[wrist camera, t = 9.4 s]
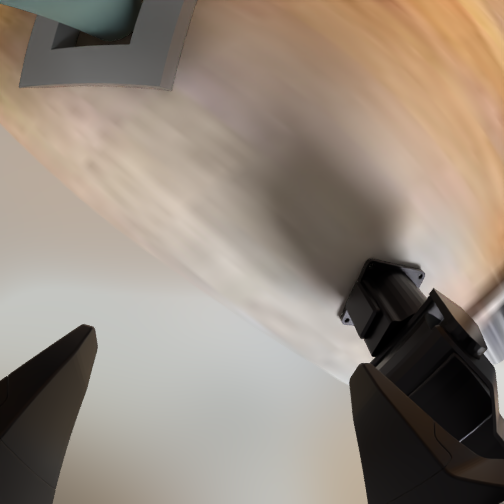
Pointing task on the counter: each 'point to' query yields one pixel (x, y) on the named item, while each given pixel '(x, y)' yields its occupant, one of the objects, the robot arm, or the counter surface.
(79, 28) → the peg
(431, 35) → the counter surface
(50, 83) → the socket block
